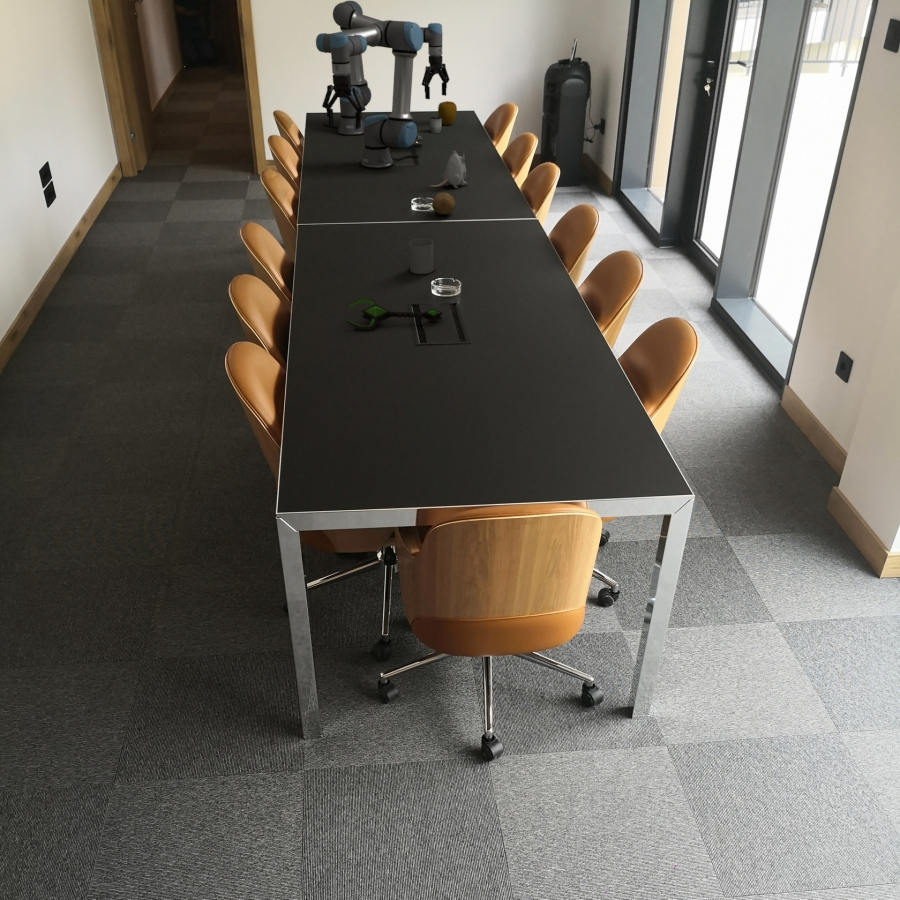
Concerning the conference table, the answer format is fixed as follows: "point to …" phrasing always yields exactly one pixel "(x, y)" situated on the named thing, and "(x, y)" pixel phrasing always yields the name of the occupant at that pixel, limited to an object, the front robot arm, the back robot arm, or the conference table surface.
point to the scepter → (389, 314)
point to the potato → (443, 203)
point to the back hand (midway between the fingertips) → (435, 97)
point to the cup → (421, 256)
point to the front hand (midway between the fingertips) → (345, 126)
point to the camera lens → (435, 124)
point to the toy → (454, 171)
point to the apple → (447, 112)
